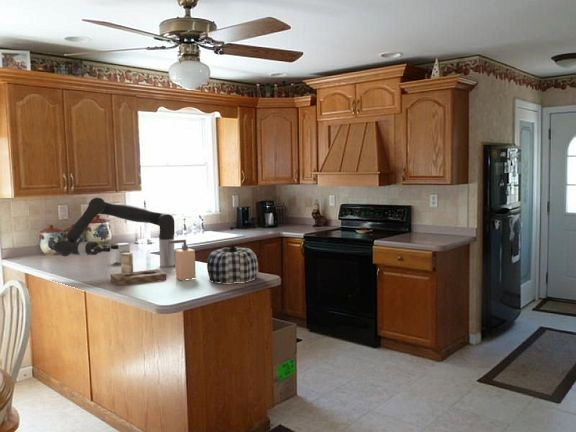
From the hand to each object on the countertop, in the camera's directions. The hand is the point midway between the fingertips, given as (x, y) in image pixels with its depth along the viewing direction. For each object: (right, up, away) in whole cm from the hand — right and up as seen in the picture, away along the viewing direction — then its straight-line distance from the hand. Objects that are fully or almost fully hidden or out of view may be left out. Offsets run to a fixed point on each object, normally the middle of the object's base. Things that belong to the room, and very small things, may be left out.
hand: (114, 248), depth 293 cm
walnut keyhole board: (+16, -17, -6) cm, 24 cm away
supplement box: (-11, -13, +52) cm, 55 cm away
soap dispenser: (+39, -17, -5) cm, 43 cm away
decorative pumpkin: (+68, -17, -7) cm, 70 cm away
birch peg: (+11, -18, -9) cm, 23 cm away
